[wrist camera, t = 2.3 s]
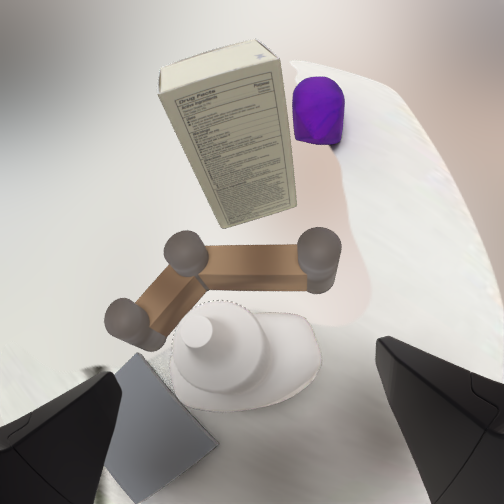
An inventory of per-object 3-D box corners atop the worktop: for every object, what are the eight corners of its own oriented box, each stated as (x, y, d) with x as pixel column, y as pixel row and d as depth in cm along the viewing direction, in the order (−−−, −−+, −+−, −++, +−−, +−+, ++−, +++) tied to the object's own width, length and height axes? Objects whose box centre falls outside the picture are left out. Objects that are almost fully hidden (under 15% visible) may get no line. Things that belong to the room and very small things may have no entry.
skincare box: (281, 171, 24) (260, 36, 13) (298, 209, 21) (285, 56, 11) (210, 192, 24) (158, 65, 13) (219, 233, 21) (155, 92, 11)
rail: (202, 420, 15) (175, 423, 11) (128, 329, 19) (95, 311, 15) (341, 274, 18) (350, 243, 15) (252, 211, 22) (242, 175, 19)
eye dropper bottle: (304, 420, 14) (314, 468, 4) (212, 401, 15) (71, 383, 5) (318, 351, 16) (350, 252, 6) (229, 335, 17) (128, 228, 7)
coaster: (140, 502, 12) (136, 504, 11) (77, 416, 16) (72, 416, 15) (219, 443, 14) (216, 445, 13) (141, 354, 18) (136, 352, 17)
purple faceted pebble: (340, 63, 27) (347, 115, 19) (340, 97, 31) (344, 165, 22) (300, 61, 28) (284, 112, 20) (303, 95, 32) (288, 161, 24)
